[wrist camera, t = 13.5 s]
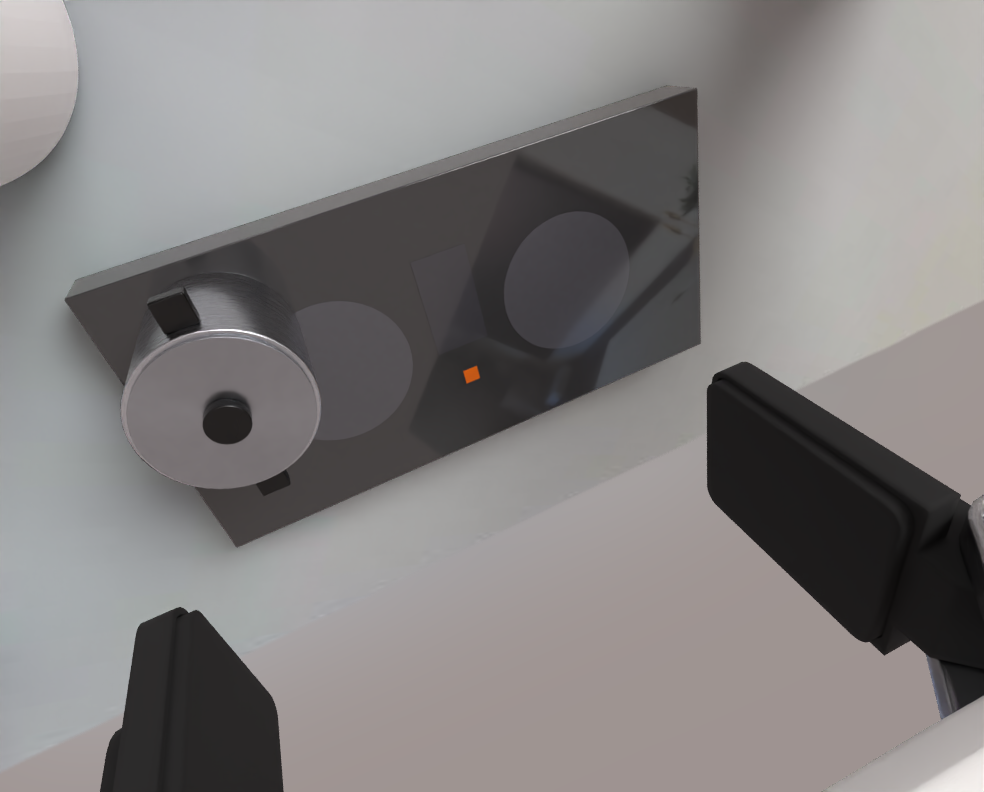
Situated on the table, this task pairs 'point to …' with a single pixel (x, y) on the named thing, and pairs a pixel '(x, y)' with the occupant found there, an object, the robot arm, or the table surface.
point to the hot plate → (455, 293)
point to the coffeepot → (34, 82)
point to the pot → (221, 385)
